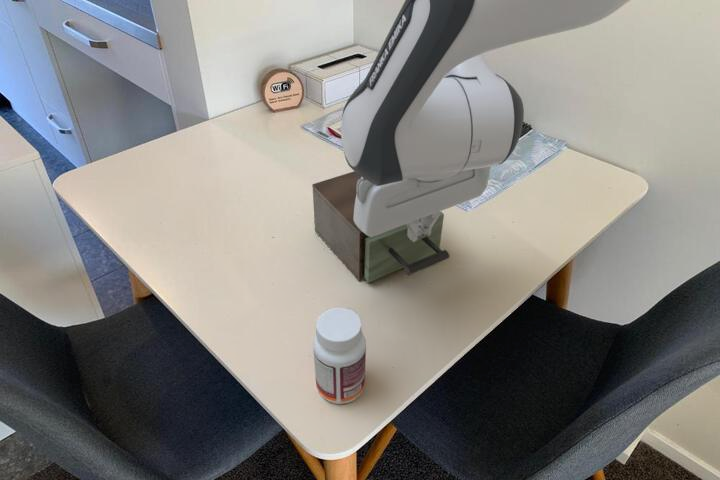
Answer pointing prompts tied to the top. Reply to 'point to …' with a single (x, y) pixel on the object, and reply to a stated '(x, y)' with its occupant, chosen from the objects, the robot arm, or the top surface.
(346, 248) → the cabinet
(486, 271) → the top surface
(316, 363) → the pill bottle
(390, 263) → the drawer
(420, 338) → the top surface
